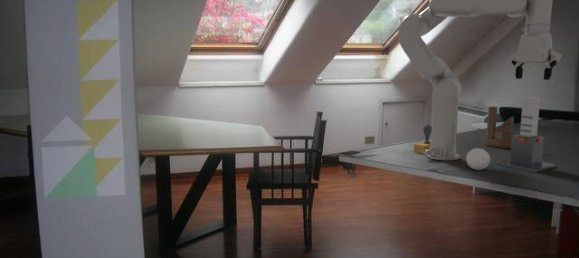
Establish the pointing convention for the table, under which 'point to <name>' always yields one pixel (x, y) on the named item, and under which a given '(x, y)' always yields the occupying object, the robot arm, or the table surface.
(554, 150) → the table surface
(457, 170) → the table surface
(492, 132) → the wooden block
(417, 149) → the rubber stamp
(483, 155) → the geometric ball
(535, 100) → the column
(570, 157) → the table surface
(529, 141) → the stand base
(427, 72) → the robot arm
